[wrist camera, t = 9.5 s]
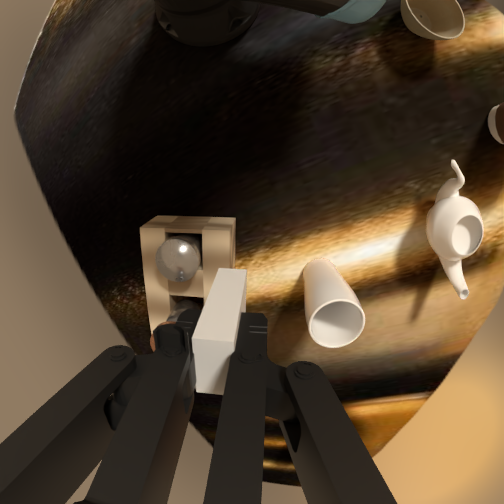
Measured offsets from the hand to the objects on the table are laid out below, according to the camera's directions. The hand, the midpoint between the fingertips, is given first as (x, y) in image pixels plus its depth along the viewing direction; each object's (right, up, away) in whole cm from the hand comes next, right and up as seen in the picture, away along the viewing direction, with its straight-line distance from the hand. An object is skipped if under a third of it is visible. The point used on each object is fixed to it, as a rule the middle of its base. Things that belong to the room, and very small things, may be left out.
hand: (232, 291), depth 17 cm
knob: (-8, +4, +28) cm, 29 cm away
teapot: (+31, +8, +27) cm, 42 cm away
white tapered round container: (+27, +38, +17) cm, 49 cm away
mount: (-8, -4, +33) cm, 34 cm away
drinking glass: (+11, -1, +31) cm, 33 cm away
